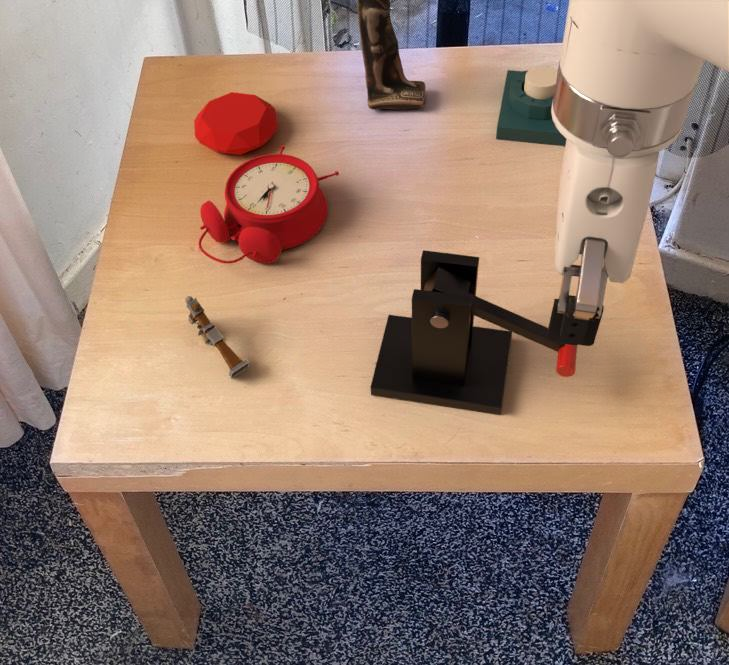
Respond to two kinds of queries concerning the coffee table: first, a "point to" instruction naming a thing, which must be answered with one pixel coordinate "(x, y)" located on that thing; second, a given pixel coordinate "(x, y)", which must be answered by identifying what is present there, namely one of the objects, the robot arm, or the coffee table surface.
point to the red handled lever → (504, 318)
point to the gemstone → (235, 123)
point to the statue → (385, 60)
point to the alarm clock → (268, 207)
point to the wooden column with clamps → (214, 337)
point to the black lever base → (443, 347)
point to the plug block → (525, 115)
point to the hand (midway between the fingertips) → (574, 287)
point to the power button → (540, 82)
